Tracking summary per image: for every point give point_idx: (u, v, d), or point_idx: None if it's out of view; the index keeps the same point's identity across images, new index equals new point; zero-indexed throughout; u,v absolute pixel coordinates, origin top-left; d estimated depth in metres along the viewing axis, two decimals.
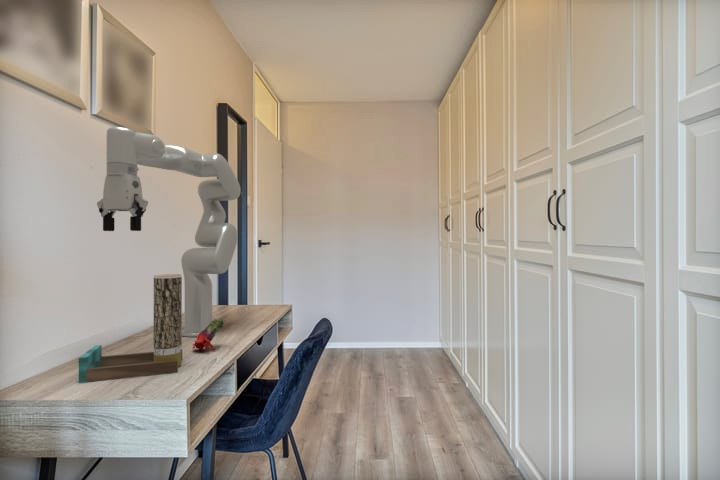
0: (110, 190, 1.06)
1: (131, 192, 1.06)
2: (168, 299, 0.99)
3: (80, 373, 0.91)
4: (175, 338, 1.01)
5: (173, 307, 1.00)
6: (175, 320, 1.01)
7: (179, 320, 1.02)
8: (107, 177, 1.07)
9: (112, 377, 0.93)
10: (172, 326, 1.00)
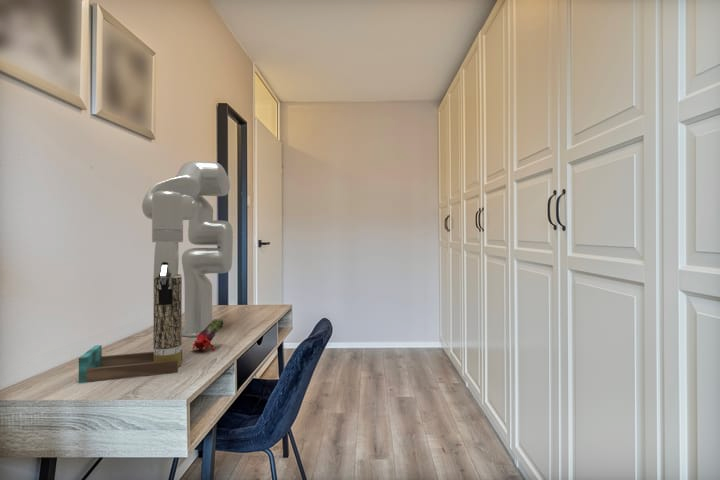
0: (177, 258, 1.02)
1: None
2: None
3: (80, 373, 0.91)
4: (175, 338, 1.01)
5: (173, 307, 1.00)
6: (175, 320, 1.01)
7: (179, 320, 1.02)
8: (175, 244, 1.00)
9: (112, 377, 0.93)
10: (172, 326, 1.00)
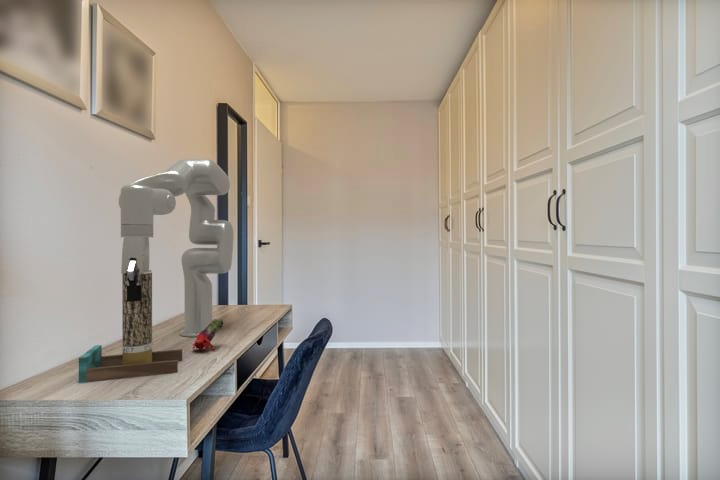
0: (146, 253, 0.99)
1: None
2: None
3: (80, 373, 0.91)
4: (145, 335, 0.98)
5: (142, 304, 0.98)
6: (144, 317, 0.98)
7: (149, 317, 1.00)
8: (144, 239, 0.98)
9: (112, 377, 0.93)
10: (141, 323, 0.98)
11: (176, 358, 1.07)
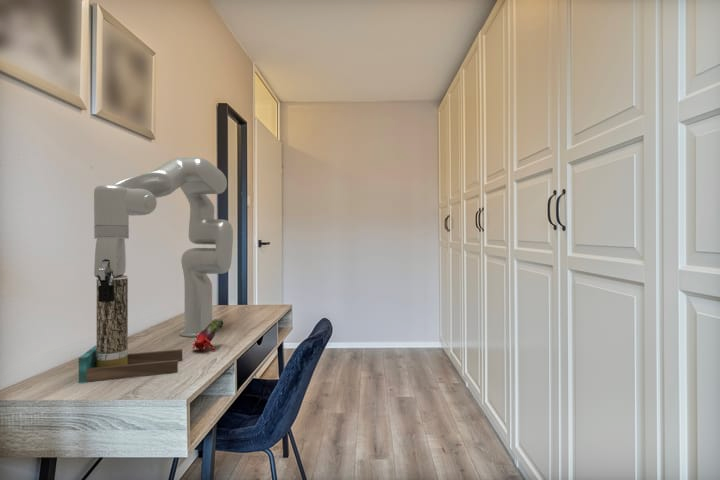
0: (121, 255, 0.98)
1: None
2: (110, 302, 0.95)
3: (80, 373, 0.91)
4: (119, 342, 0.97)
5: (116, 310, 0.96)
6: (119, 323, 0.97)
7: (124, 323, 0.98)
8: (118, 240, 0.96)
9: (112, 377, 0.93)
10: (115, 329, 0.96)
11: (176, 358, 1.07)
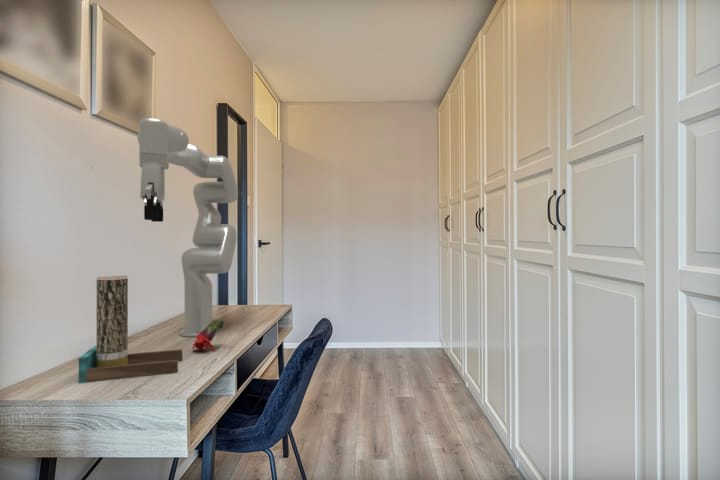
0: (162, 181, 1.10)
1: None
2: (110, 302, 0.95)
3: (80, 373, 0.91)
4: (119, 342, 0.97)
5: (116, 310, 0.96)
6: (119, 323, 0.97)
7: (124, 323, 0.98)
8: (161, 167, 1.08)
9: (112, 377, 0.93)
10: (115, 329, 0.96)
11: (176, 358, 1.07)
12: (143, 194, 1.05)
